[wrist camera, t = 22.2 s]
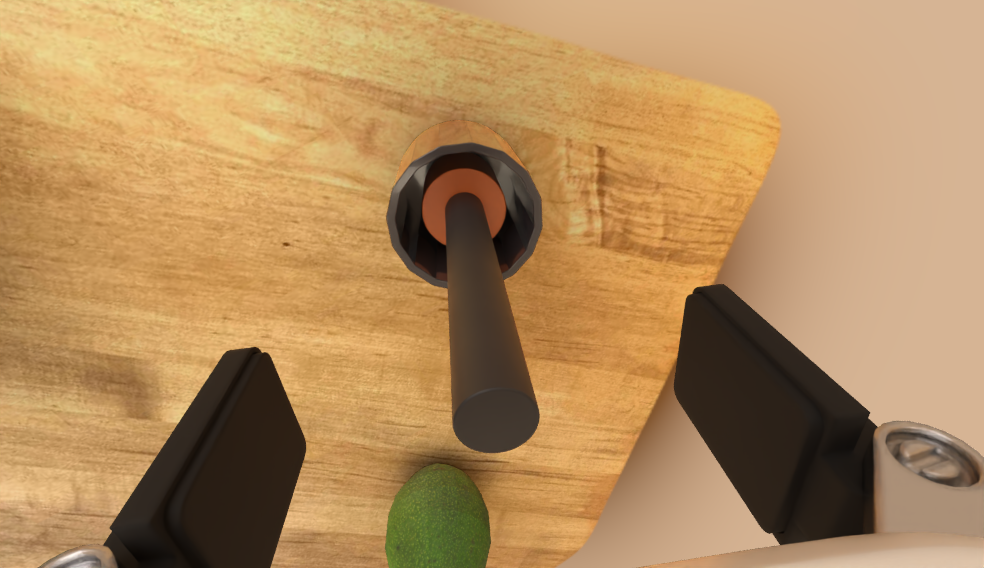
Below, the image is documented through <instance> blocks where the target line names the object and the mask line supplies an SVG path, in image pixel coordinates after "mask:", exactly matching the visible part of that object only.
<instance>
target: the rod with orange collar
mask: <svg viewBox="0 0 984 568" xmlns="http://www.w3.org/2000/svg"><path fill="white" fill-rule="evenodd" d="M505 216H506V200H505V197H504V194H503V191H502V189H501V187H500V184H499V182H498V180H497V177H496V175H495V173H494V171H493V169H492V168H491V166H490V165H489V164H488V163H487V162H486V161H485V160H484V159H482V158H481V157H479V156H477V155H475V154H472V153H468V152H464V153H456V154H447V155H445V156H443V157H441V158H439V159H438V160H437V161H436V162H435V163H434V164H433V165H432V166H431V167H430V169H429V170H428V172H427V175H426V177H425V181H424V189H423V198H422V217H423V221H424V223H425V226H426V228H427V229H428V231H429V232H430V234H431V235H432V236H433V237H434V238H435V239H436V240H438V241H439V242H440V243H442V244H444V245H446V252H447V280H448V308H449V336H450V365H451V393H452V421H453V429H454V432H455V434H456V436H457V437H458V439H459V440H460V441H461V442H462V443H463V444H464V445H465V446H467V447H469V448H470V449H473V450H475V451H479V452H484V453H500V452H505V451H509V450H512V449H514V448H517V447H519V446H520V445H522V444H523V443H525V442H526V441H527V440H528V439H529V438H530V437H531V436H532V435H533V434H534V432H535V431H536V429H537V426H538V423H539V415H540V414H539V409H538V405H537V402H536V398H535V394H534V391H533V387H532V383H531V380H530V376H529V372H528V369H527V365H526V361H525V358H524V354H523V350H522V347H521V343H520V339H519V336H518V332H517V328H516V325H515V321H514V317H513V314H512V310H511V306H510V303H509V299H508V295H507V292H506V288H505V284H504V281H503V277H502V273H501V270H500V266H499V262H498V259H497V255H496V251H495V248H494V244H493V240H492V238H494V237H495V235H496V234H497V233H498V232H499V231H500V229H501V227H502V225H503V223H504V220H505Z"/></svg>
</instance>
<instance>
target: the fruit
mask: <svg viewBox="0 0 984 568" xmlns="http://www.w3.org/2000/svg"><path fill="white" fill-rule="evenodd" d="M490 544H491V537H490V525H489V515H488V510H487V507H486V505H485V503H484V500H483V498H482V495H481V493H480V491H479V490H478V488H477V487H476V485H475V484H474V482H473V481H472V480H471V478H470V477H469V476H468V475H466V474H465V473H464V472H463V471H462V470H460V469H458V468H455V467H453V466H451V465H447V464H440V463H434V464H431V465H428V466H425V467H423V468H422V469H420V470H419V471H417V472H416V473H415V474H414V475H413V476H412V477H411V478H410V479H409V480H408V481H407V482H406V483H405V485H404V486H403V487H402V488H401V489H400V490H399V492H398V493H397V495H396V497H395V499H394V502H393V504H392V507H391V510H390V512H389V516H388V524H387V534H386V544H385V550H386V555H387V560H388V565H389V568H485V566H486V562H487V558H488V553H489V548H490Z"/></svg>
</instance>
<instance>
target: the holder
mask: <svg viewBox="0 0 984 568" xmlns="http://www.w3.org/2000/svg"><path fill="white" fill-rule="evenodd" d="M464 152H468V153H472V154H475V155H477V156H479V157H481V158H482V159H484V160H485V161H486V162H487V163H488V164H489V165H490V166H491V168H492V169H493V171H494V173H495V175H496V177H497V180H498V182H499V184H500V187H501V189H502V191H503V194H504V197H505V200H506V216H505V220H504V223H503V225H502V227H501V229H500V231H499V232H498V233H497V234H496V235H495V237H494V238H492V240H493V244H494V248H495V251H496V255H497V259H498V262H499V266H500V270H501V273H502V277H503V280H505V279H507V278H509V277H510V276H512V275H513V274H515V273H516V272H517V271H518V270H519V268H520V267H521V266H522V265H523V264H524V263H525V262H526V261H527V260H528V259H529V257H530V256H531V255H532V254H533V252H534V249H535V246H536V244H537V241H538V238H539V236H540V233H541V230H542V226H543V225H542V202H541V197H540V195H539V193H538V191H537V189H536V187H535V184H534V182H533V180H532V178H531V176H530V174H529V172H528V171H527V169H526V168H525V167H524V165H523V164H522V162H521V161H520V159H519V158H518V157H517V155H516V154H515V152H514V151H513V149H512V148H511V147H510V145H509V144H508V143H507V142H506V141H505V140H504V139H502V138H501V137H500V136H499V135H498V134H497V133H496V132H494V131H493V130H492V129H491V128H489V127H486V126H484V125H481V124H479V123H476V122H472V121H465V120H452V121H446V122H442V123H439V124H436V125H434V126H432V127H430V128H428V129H427V130H425V131H424V132H422V133H421V134H420V135H418V137H416V139H415V140H414V141H413V142H412V143H411V145H410V146H409V148H408V149H407V151H406V153H405V154H404V155H403V157H402V160H401V163H400V166H399V169H398V172H397V176H396V179H395V182H394V185H393V188H392V192H391V197H390V201H389V206H388V211H387V215H386V217H387V218H386V220H387V224H388V229H389V234H390V238H391V243H392V246H393V248H394V249H395V251H396V252H397V254H398V255H399V257H400V258H401V259H402V261H403V262H404V264H405V265H406V266H407V268H408V269H409V270H410V271H412V272H413V273H415V274H416V275H418V276H419V277H421V278H422V279H424V280H425V281H427V282H429V283H430V284H432V285H434V286H438V287H443V288H447V289H448V280H447V252H446V245H444V244H442V243H440V242H439V241H438V240H436V239H435V238H434V237H433V236H432V235H431V234H430V232H429V231H428V229H427V228H426V226H425V223H424V221H423V217H422V198H423V189H424V181H425V177H426V175H427V172H428V170H429V169H430V167H431V166H432V165H433V164H434V163H435V162H436V161H437V160H438V159H439V158H441V157H443V156H445V155H447V154H456V153H464Z"/></svg>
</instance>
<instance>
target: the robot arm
mask: <svg viewBox="0 0 984 568" xmlns="http://www.w3.org/2000/svg"><path fill="white" fill-rule="evenodd" d="M674 391H675V395H676V397H677V400H678V401H679V403H680V404H681V406H682V407H683V409H684V410H685V412H686V414H687V415H688V417H689V418H690V420H691V421H692V423H693V424H694V426H695V427H696V429H697V430H698V432H699V434H700V435H701V437H702V438H703V439H704V441H705V443H706V444H707V446H708V447H709V449H710V450H711V452H712V453H713V455H714V456H715V458H716V460H717V461H718V463H719V464H720V465H721V467H722V469H723V470H724V472H725V473H726V475H727V476H728V478H729V479H730V481H731V482H732V484H733V486H734V487H735V489H736V490H737V491H738V493H739V495H740V496H741V498H742V499H743V501H744V502H745V504H746V505H747V507H748V509H749V510H750V512H751V513H752V515H753V516H754V518H755V519H756V521H757V522H758V524H759V525H760V527H761V528H762V529H763V530H764V531H765V532H767V533H769V534H770V533H773V535H774V536H775V538H776V539H777V541H778V542H779V544H780V545H779V546H772V547H764V548H758V549H752V550H744V551H738V552H732V553H726V554H719V555H713V556H707V557H700V558H694V559H688V560H682V561H675V562H669V563H663V564H657V565H650V566H644V567H638V568H984V458H983V457H982V456H981V455H980V453H979V452H977V451H976V450H975V449H973V448H972V447H970V446H969V445H968V444H966V443H965V442H964V441H962V440H960V439H958V438H956V437H954V436H953V435H951V434H948V433H947V432H945V431H942V430H939V429H937V428H934V427H931V426H928V425H925V424H920V423H915V422H910V421H892V422H888V423H884V424H882V425H881V426H879V427H877V426H876V425H875V424H874V423H873V422H872V421H871V420H870V419H868V417H869V414H870V412H869V411H868V410H867V409H866V408H865V407H863V406H862V405H861V404H860V403H859V402H858V401H857V400H855V399H854V398H853V397H852V396H851V395H850V394H849V393H847V392H846V391H845V390H844V389H843V388H842V387H841V386H839V385H838V384H837V383H836V382H835V381H834V380H833V379H831V378H830V377H829V376H828V375H827V374H826V373H825V372H824V371H822V370H821V369H820V368H819V367H818V366H817V365H816V364H814V363H813V362H812V361H811V360H810V359H809V358H808V357H806V356H805V355H804V354H803V353H802V352H801V351H799V350H798V349H797V348H796V347H795V346H794V345H793V344H792V343H791V342H790V341H788V340H787V339H786V338H785V337H784V336H783V335H782V334H780V333H779V332H778V331H777V330H776V329H775V328H773V327H772V326H771V325H770V324H769V323H768V322H767V321H766V320H764V319H763V318H762V317H761V316H760V315H759V314H757V312H755V311H754V310H753V309H752V308H751V307H750V306H749V305H747V304H746V303H745V302H744V301H743V300H741V299H740V297H738V296H737V295H736V294H735V293H734V292H733V291H732V290H730V289H729V288H728V287H727V286H725V285H724V284H718V285H710V286H703V287H697V288H695V289H694V291H693V294H691V295H688V296H687V298H686V302H685V309H684V316H683V323H682V330H681V337H680V344H679V351H678V358H677V366H676V373H675V380H674ZM305 453H306V442H305V438H304V435H303V433H302V430H301V428H300V426H299V423H298V421H297V418H296V416H295V414H294V411H293V409H292V407H291V404H290V402H289V399H288V397H287V395H286V392H285V390H284V387H283V385H282V383H281V380H280V378H279V376H278V373H277V371H276V368H275V366H274V364H273V361H272V359H271V357H270V355H269V354H268V353H266V352H264V353H262V352H261V350H260V349H258V348H257V347H251V348H244V349H237V350H230V351H227V352H226V353H225V354H224V355H223V356H222V358H221V359H220V361H219V362H218V364H217V365H216V367H215V368H214V370H213V372H212V373H211V375H210V376H209V378H208V379H207V381H206V382H205V384H204V385H203V387H202V388H201V390H200V391H199V393H198V394H197V396H196V397H195V399H194V400H193V402H192V403H191V405H190V406H189V408H188V410H187V411H186V413H185V414H184V416H183V417H182V419H181V420H180V422H179V423H178V425H177V426H176V428H175V429H174V431H173V432H172V434H171V435H170V437H169V438H168V440H167V441H166V443H165V444H164V446H163V448H162V449H161V451H160V452H159V454H158V455H157V457H156V458H155V460H154V461H153V463H152V464H151V466H150V467H149V469H148V470H147V472H146V473H145V475H144V476H143V478H142V479H141V481H140V482H139V484H138V486H137V487H136V489H135V490H134V492H133V493H132V495H131V496H130V498H129V499H128V501H127V502H126V504H125V505H124V507H123V508H122V510H121V511H120V513H119V514H118V516H117V517H116V519H115V520H114V522H113V524H112V525H111V527H110V529H111V530H112V532H111V534H110V535H109V537H108V539H107V540H106V542H105V543H104V545H100V544H90V545H82V546H79V547H76V548H73V549H70V550H67V551H65V552H63V553H61V554H59V555H58V556H56V557H54V558H52V559H50V560H48V561H47V562H45V563H44V564H42V565H41V566H40V567H38V568H270V567H271V564H272V560H273V557H274V554H275V551H276V547H277V544H278V541H279V538H280V534H281V531H282V528H283V525H284V522H285V518H286V515H287V512H288V509H289V505H290V502H291V499H292V496H293V493H294V489H295V486H296V483H297V480H298V476H299V473H300V470H301V467H302V463H303V460H304V457H305Z"/></svg>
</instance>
